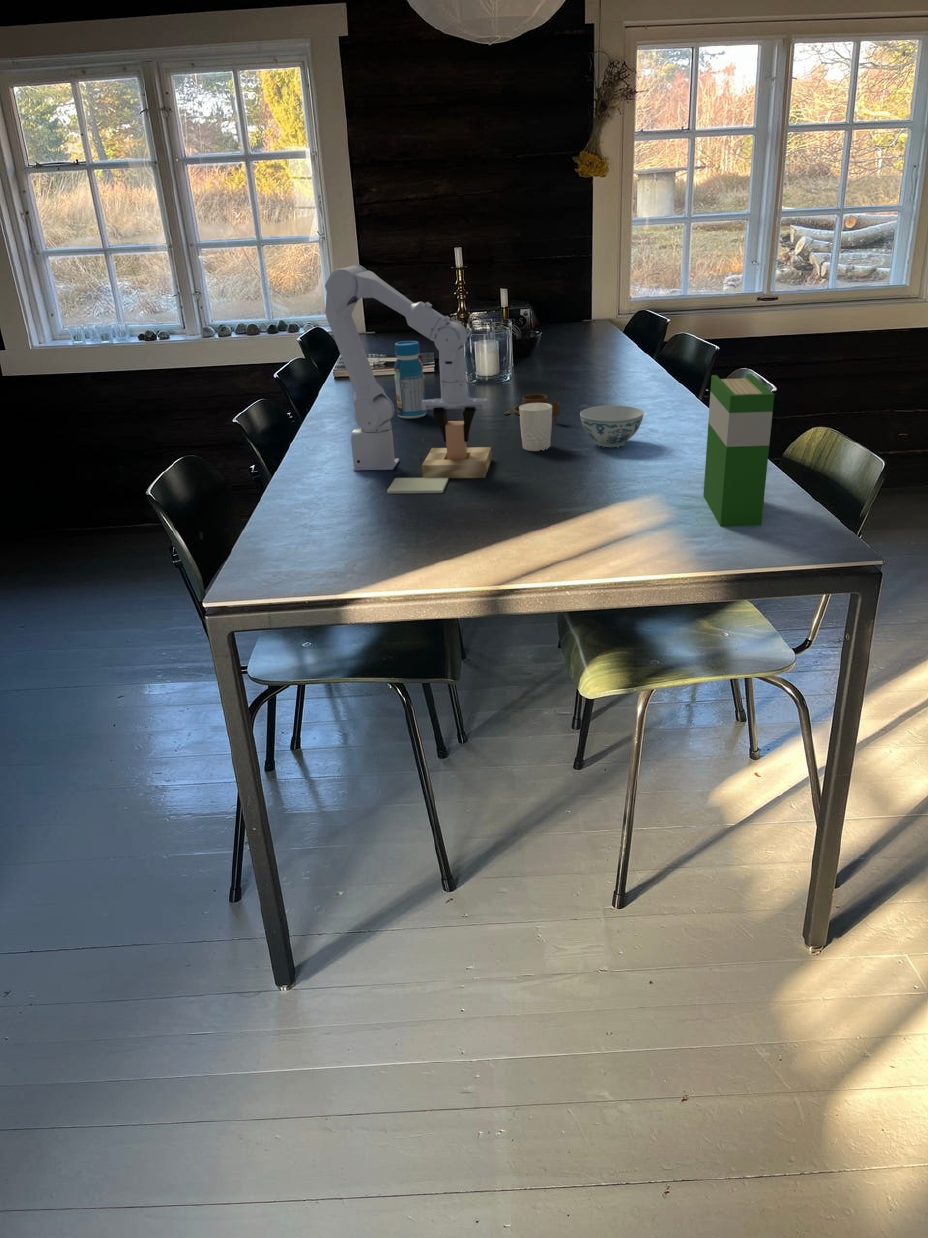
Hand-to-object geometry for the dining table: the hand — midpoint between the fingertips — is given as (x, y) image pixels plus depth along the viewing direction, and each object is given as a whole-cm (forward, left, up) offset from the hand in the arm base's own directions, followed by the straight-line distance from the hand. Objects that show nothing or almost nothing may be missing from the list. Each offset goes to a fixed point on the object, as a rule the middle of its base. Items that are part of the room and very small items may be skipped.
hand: (456, 440), depth 207 cm
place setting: (+15, +49, -7) cm, 52 cm away
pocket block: (0, 0, -6) cm, 7 cm away
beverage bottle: (-20, +52, -7) cm, 56 cm away
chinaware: (+35, +19, -7) cm, 40 cm away
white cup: (+17, +17, -7) cm, 25 cm away
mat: (-7, -13, -6) cm, 16 cm away
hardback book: (+57, -29, -7) cm, 64 cm away
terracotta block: (0, 0, -4) cm, 4 cm away
